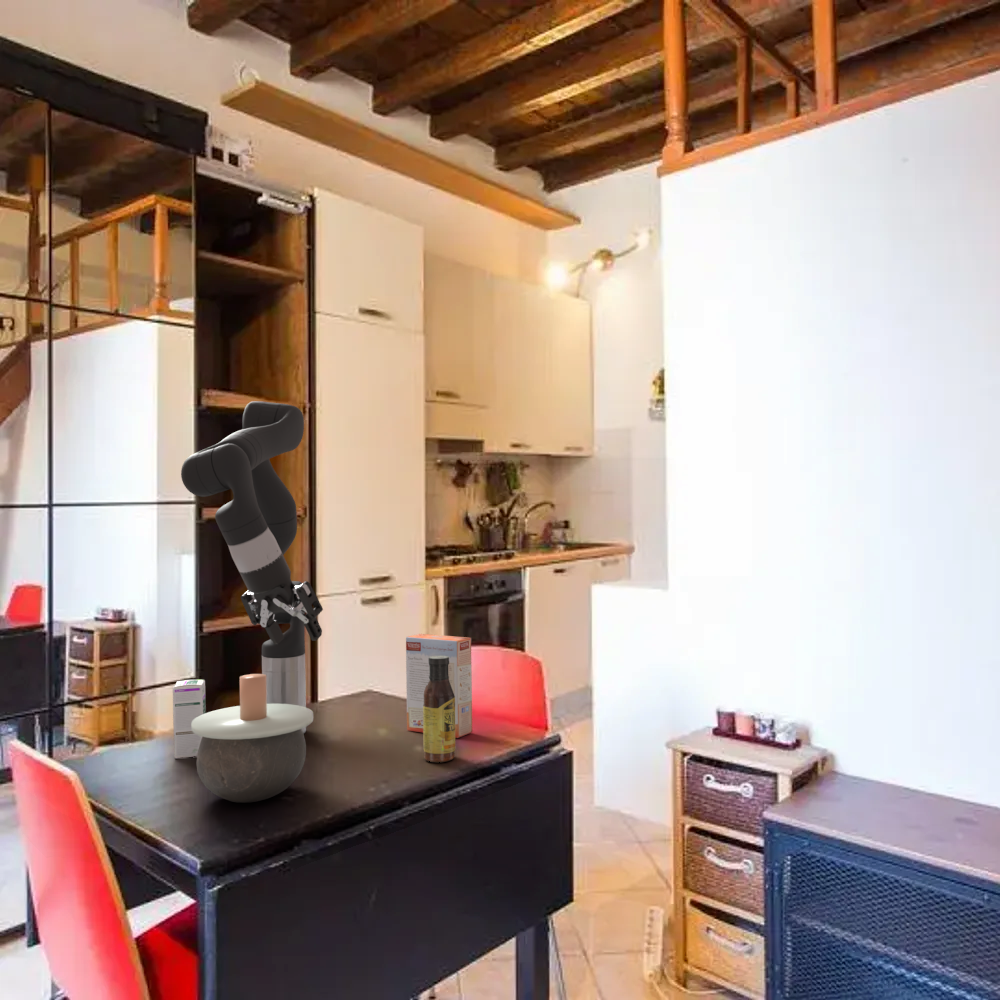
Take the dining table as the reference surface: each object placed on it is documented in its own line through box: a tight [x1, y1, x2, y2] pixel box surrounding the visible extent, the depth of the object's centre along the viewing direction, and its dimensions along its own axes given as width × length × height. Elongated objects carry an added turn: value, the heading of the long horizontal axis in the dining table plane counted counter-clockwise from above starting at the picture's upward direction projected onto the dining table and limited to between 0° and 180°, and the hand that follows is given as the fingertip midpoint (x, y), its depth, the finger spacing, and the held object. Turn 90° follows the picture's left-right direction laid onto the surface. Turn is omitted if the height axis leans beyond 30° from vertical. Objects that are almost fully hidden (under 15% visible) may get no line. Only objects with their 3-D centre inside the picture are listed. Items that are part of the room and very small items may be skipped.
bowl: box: [196, 729, 307, 804], centre depth 144 cm, size 18×18×13 cm
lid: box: [191, 673, 314, 739], centre depth 144 cm, size 20×20×8 cm
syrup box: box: [171, 679, 207, 759], centre depth 169 cm, size 6×6×14 cm
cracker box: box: [405, 633, 473, 739], centre depth 183 cm, size 14×6×21 cm, turn 58°
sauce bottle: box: [422, 656, 456, 763], centre depth 164 cm, size 7×6×20 cm
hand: (298, 639), depth 145 cm, fingers open, 8 cm apart
